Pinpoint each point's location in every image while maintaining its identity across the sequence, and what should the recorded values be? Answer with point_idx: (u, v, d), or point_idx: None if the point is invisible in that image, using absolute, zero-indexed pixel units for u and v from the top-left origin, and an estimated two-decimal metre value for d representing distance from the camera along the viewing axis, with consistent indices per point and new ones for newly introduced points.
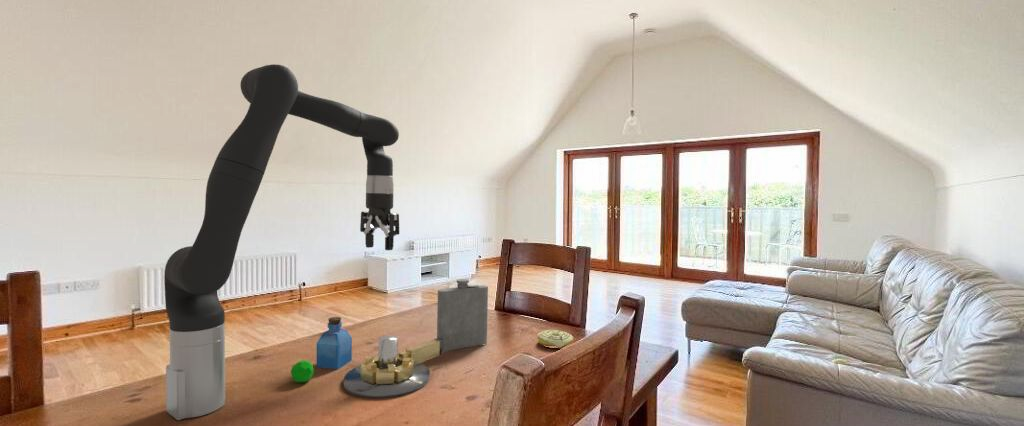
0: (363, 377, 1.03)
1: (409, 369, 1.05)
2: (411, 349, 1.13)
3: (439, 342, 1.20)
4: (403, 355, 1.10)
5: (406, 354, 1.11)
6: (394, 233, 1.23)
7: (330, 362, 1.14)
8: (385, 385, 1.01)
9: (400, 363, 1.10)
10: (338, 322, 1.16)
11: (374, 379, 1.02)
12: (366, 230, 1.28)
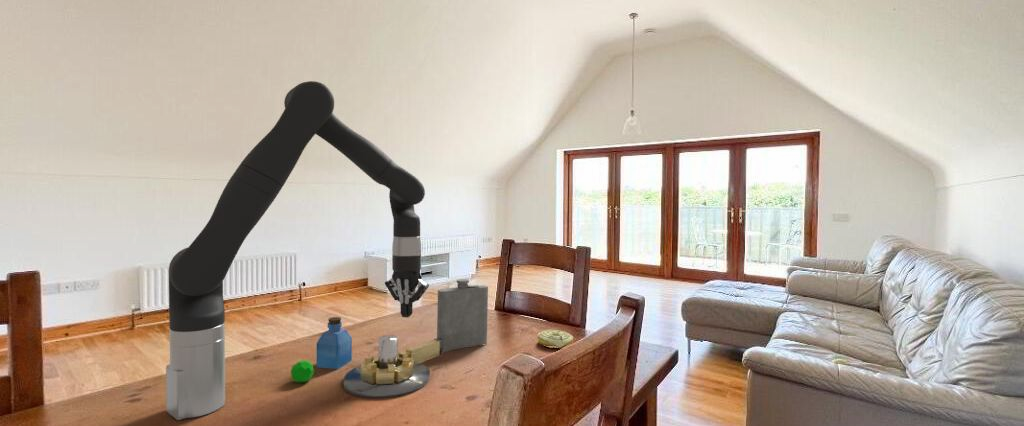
0: (363, 377, 1.03)
1: (409, 369, 1.05)
2: (411, 349, 1.13)
3: (439, 342, 1.20)
4: (403, 355, 1.10)
5: (406, 354, 1.11)
6: (415, 300, 1.18)
7: (330, 362, 1.14)
8: (385, 385, 1.01)
9: (400, 363, 1.10)
10: (338, 322, 1.16)
11: (374, 379, 1.02)
12: (401, 298, 1.19)
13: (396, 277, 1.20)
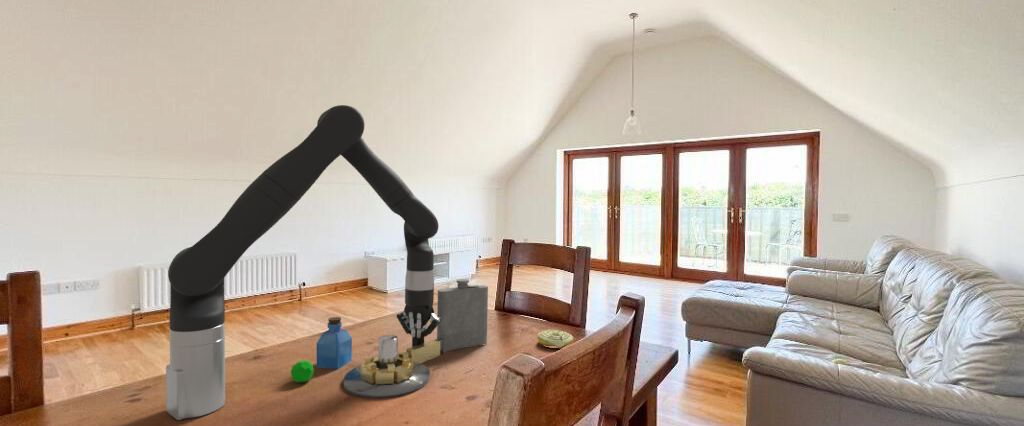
0: (363, 377, 1.03)
1: (409, 369, 1.05)
2: (411, 349, 1.13)
3: (440, 342, 1.20)
4: (403, 355, 1.10)
5: (406, 354, 1.11)
6: (427, 334, 1.18)
7: (330, 362, 1.14)
8: (385, 385, 1.01)
9: (400, 363, 1.10)
10: (338, 322, 1.16)
11: (374, 379, 1.02)
12: (413, 332, 1.18)
13: (408, 310, 1.19)
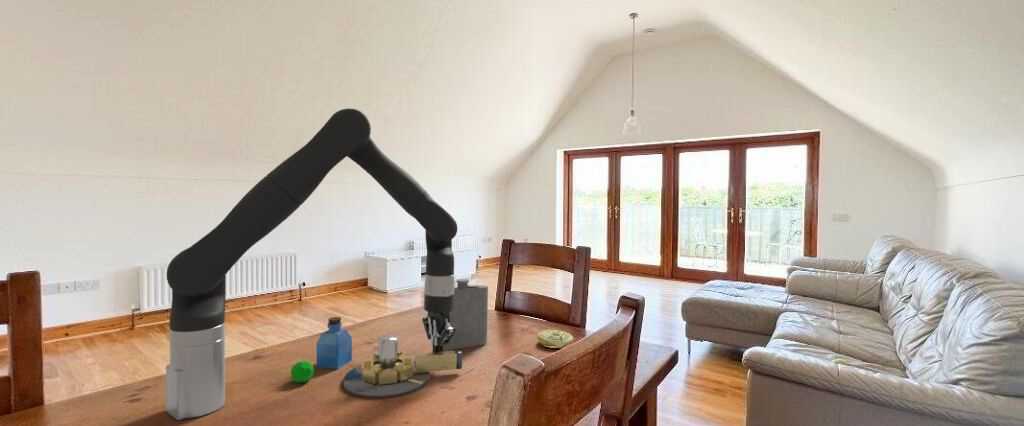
0: None
1: (394, 374, 1.02)
2: (418, 355, 1.09)
3: (456, 355, 1.11)
4: (405, 359, 1.08)
5: (409, 359, 1.08)
6: (442, 343, 1.11)
7: (330, 362, 1.14)
8: (385, 385, 1.01)
9: None
10: (338, 322, 1.16)
11: None
12: (432, 338, 1.13)
13: (430, 315, 1.14)
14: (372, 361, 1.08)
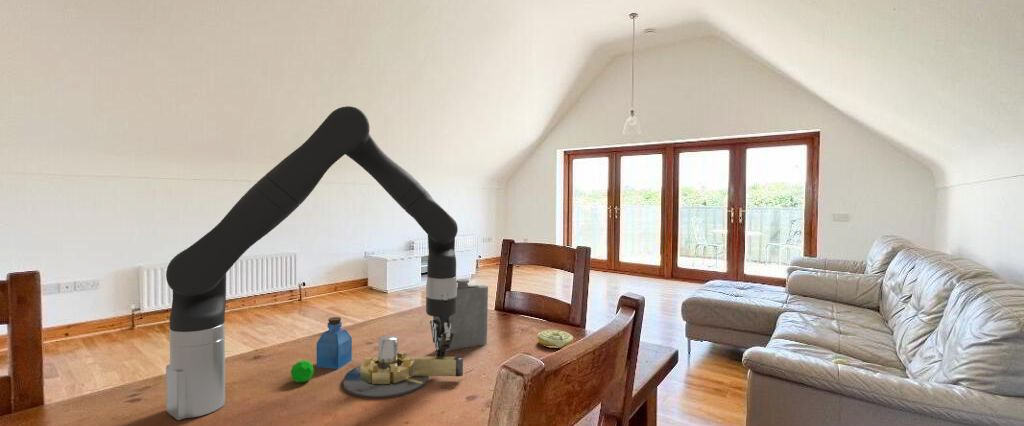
0: None
1: (387, 375, 1.01)
2: (417, 358, 1.07)
3: (455, 361, 1.07)
4: (404, 361, 1.07)
5: (408, 361, 1.07)
6: (442, 348, 1.08)
7: (330, 362, 1.14)
8: (385, 385, 1.01)
9: None
10: (338, 322, 1.16)
11: None
12: (435, 342, 1.11)
13: (434, 318, 1.12)
14: (375, 359, 1.09)
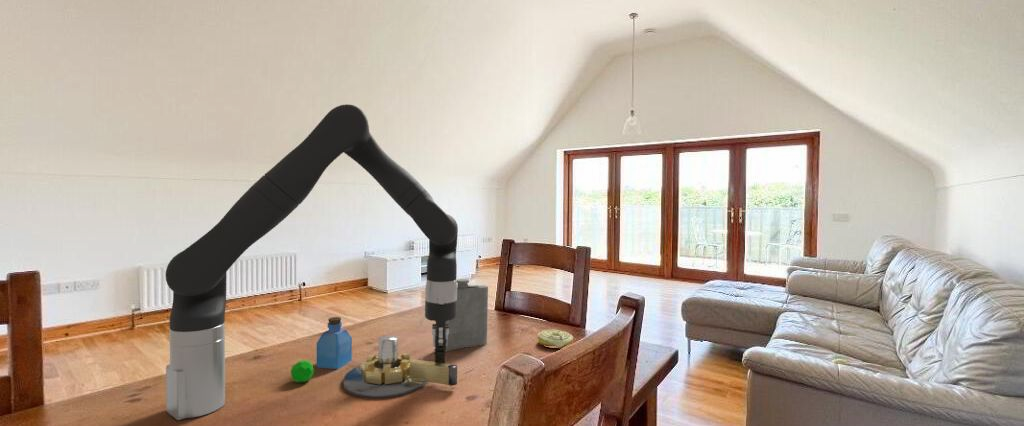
0: None
1: (378, 375, 1.01)
2: (413, 361, 1.05)
3: (448, 369, 1.02)
4: (401, 362, 1.05)
5: (404, 363, 1.05)
6: (438, 354, 1.04)
7: (330, 362, 1.14)
8: (385, 385, 1.01)
9: None
10: (338, 322, 1.16)
11: None
12: None
13: None
14: None
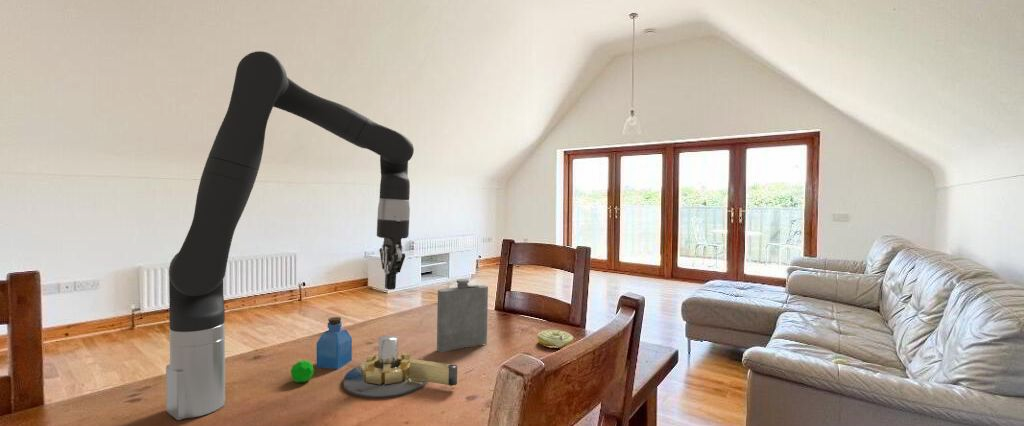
0: None
1: (378, 375, 1.01)
2: (413, 361, 1.05)
3: (448, 369, 1.02)
4: (401, 362, 1.05)
5: (404, 363, 1.05)
6: (393, 271, 1.06)
7: (330, 362, 1.14)
8: (385, 385, 1.01)
9: None
10: (338, 322, 1.16)
11: None
12: (385, 267, 1.08)
13: (384, 244, 1.10)
14: None
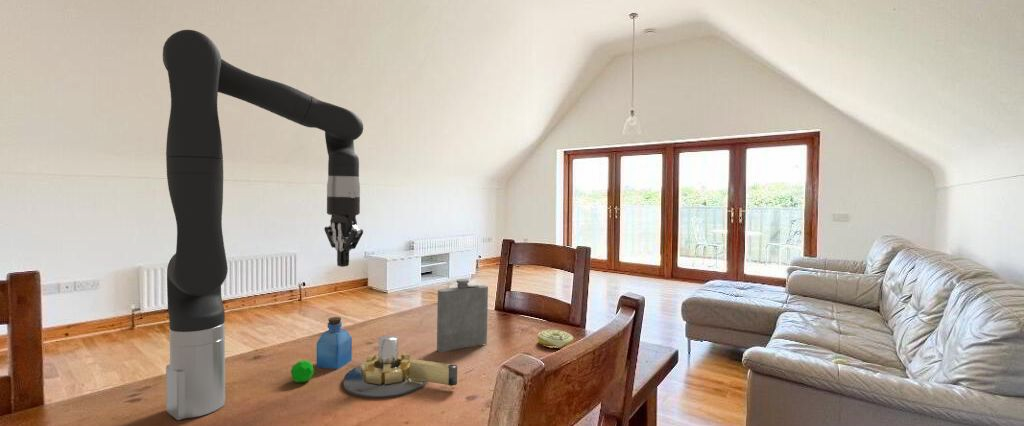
0: None
1: (378, 375, 1.01)
2: (413, 361, 1.05)
3: (448, 369, 1.02)
4: (401, 362, 1.05)
5: (404, 363, 1.05)
6: (349, 247, 1.06)
7: (330, 362, 1.14)
8: (385, 385, 1.01)
9: None
10: (338, 322, 1.16)
11: None
12: (336, 245, 1.08)
13: (333, 222, 1.09)
14: None
